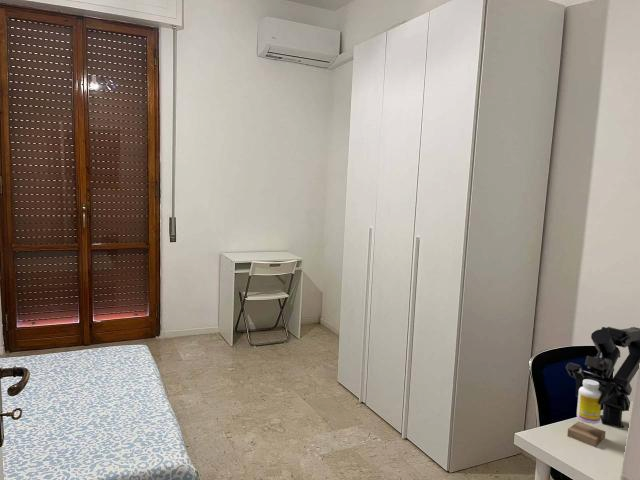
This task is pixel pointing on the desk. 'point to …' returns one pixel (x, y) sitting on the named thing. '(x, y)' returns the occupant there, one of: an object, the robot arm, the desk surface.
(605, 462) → the desk surface
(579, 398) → the supplement bottle
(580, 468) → the desk surface
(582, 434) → the walnut plinth
